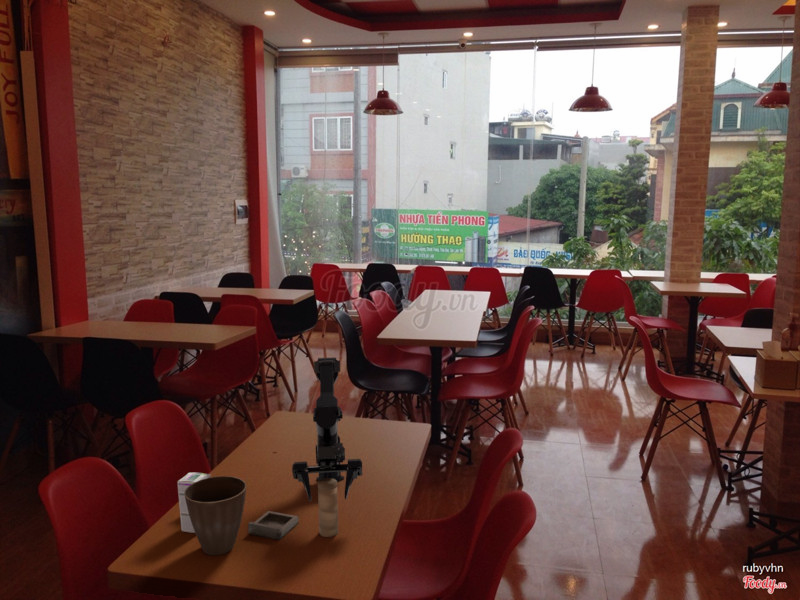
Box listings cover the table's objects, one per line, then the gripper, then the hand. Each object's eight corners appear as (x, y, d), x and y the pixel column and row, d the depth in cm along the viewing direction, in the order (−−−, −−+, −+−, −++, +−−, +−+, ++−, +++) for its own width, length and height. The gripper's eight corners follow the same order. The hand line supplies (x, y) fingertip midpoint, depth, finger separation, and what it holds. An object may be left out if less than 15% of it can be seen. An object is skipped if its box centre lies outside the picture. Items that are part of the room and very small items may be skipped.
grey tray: (268, 517, 174) (268, 507, 174) (298, 523, 171) (297, 512, 171) (248, 534, 166) (248, 523, 165) (279, 540, 162) (279, 529, 162)
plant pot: (259, 536, 164) (256, 478, 162) (231, 567, 150) (228, 504, 148) (207, 530, 168) (204, 473, 166) (176, 560, 153) (171, 499, 151)
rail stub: (329, 525, 169) (327, 476, 167) (342, 531, 166) (341, 481, 164) (315, 533, 166) (313, 482, 164) (328, 539, 162) (326, 488, 160)
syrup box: (200, 533, 166) (197, 481, 164) (180, 531, 167) (176, 480, 165) (211, 523, 172) (208, 473, 170) (191, 521, 173) (188, 471, 171)
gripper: (291, 433, 167) (289, 490, 158) (361, 430, 169) (363, 486, 159) (294, 451, 176) (293, 506, 166) (360, 447, 178) (363, 502, 168)
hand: (327, 500), depth 165 cm, fingers open, 9 cm apart
